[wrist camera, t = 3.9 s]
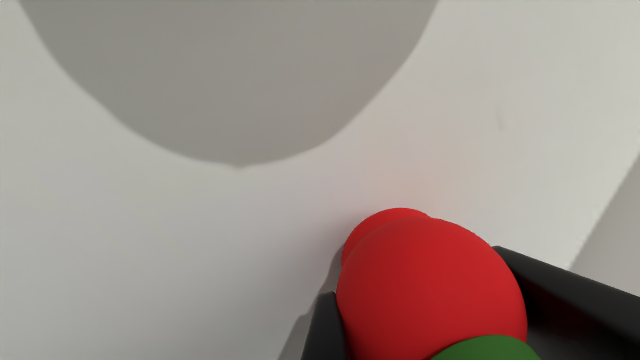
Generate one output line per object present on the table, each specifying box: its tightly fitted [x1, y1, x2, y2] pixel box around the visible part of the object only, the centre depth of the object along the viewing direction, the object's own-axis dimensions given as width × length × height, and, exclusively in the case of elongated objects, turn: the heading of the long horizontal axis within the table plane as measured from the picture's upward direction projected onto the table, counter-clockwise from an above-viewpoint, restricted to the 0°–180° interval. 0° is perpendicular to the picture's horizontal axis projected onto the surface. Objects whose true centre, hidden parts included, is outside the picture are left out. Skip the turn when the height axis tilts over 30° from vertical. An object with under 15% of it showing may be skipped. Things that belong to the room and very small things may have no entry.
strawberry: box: [336, 208, 541, 360], centre depth 7 cm, size 4×4×4 cm
